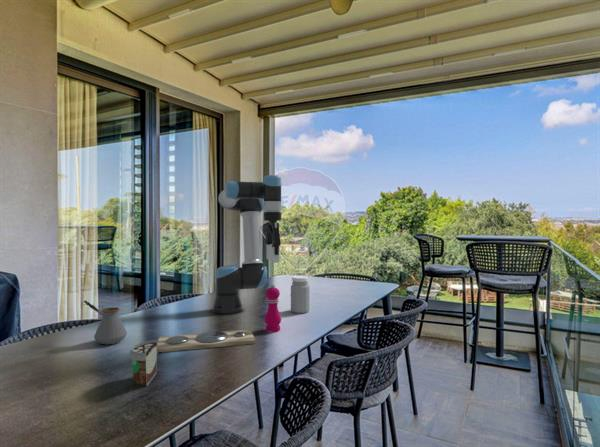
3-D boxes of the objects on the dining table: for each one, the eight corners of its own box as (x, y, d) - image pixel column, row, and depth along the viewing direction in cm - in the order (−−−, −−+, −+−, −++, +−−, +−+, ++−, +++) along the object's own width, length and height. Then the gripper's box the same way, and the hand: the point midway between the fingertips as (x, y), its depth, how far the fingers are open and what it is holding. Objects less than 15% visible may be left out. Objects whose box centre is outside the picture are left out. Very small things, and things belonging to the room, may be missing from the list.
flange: (166, 338, 145) (166, 337, 145) (188, 336, 147) (188, 335, 147) (165, 345, 137) (165, 343, 137) (187, 343, 139) (187, 341, 139)
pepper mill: (278, 333, 156) (278, 285, 156) (262, 332, 158) (262, 285, 157) (283, 328, 163) (282, 282, 163) (267, 327, 165) (267, 282, 164)
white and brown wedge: (138, 371, 118) (137, 340, 117) (158, 370, 118) (157, 339, 118) (122, 389, 105) (122, 354, 105) (145, 388, 106) (144, 353, 106)
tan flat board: (159, 340, 147) (159, 336, 147) (250, 332, 157) (250, 329, 157) (155, 353, 133) (155, 348, 133) (255, 343, 143) (255, 339, 143)
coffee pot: (133, 339, 148) (133, 302, 148) (108, 348, 138) (107, 308, 138) (96, 332, 157) (96, 297, 157) (70, 341, 147) (70, 303, 146)
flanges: (196, 334, 150) (196, 332, 150) (243, 330, 155) (243, 328, 155) (196, 344, 138) (196, 342, 138) (247, 339, 143) (247, 337, 143)
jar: (287, 312, 189) (287, 277, 189) (295, 308, 198) (295, 274, 198) (305, 314, 185) (305, 278, 185) (312, 310, 195) (312, 275, 194)
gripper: (259, 211, 170) (259, 258, 171) (269, 210, 146) (269, 264, 147) (275, 211, 172) (275, 257, 173) (288, 211, 148) (288, 263, 149)
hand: (272, 260), depth 160 cm, fingers open, 13 cm apart
